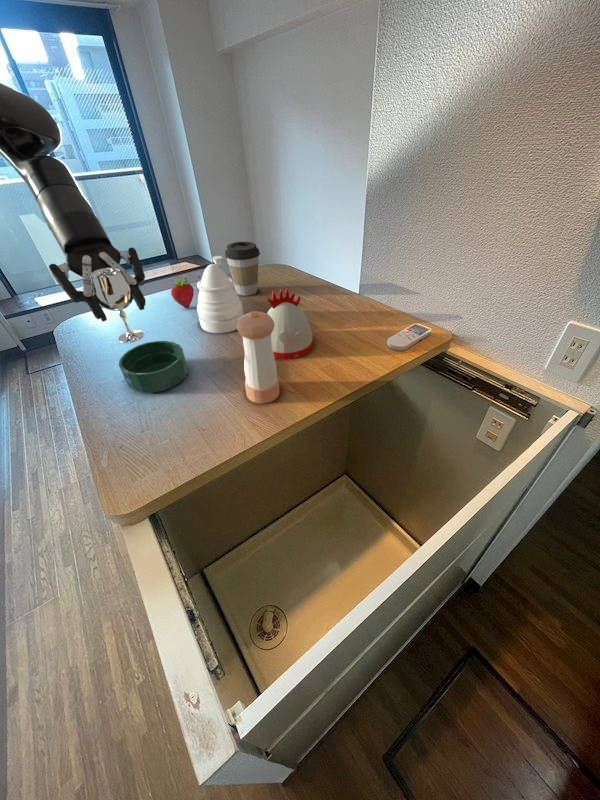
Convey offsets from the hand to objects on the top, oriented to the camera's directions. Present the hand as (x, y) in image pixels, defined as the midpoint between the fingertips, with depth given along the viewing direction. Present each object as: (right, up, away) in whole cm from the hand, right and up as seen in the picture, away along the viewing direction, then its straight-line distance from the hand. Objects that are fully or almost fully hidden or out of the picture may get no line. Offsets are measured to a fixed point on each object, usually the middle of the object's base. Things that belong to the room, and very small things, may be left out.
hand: (123, 313), depth 56 cm
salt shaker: (+22, -14, +15) cm, 30 cm away
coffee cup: (+12, +22, +57) cm, 62 cm away
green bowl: (-3, -9, +20) cm, 22 cm away
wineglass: (-1, -3, +5) cm, 6 cm away
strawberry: (-6, +14, +47) cm, 50 cm away
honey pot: (+8, +8, +40) cm, 41 cm away
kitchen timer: (+27, 0, +30) cm, 41 cm away
